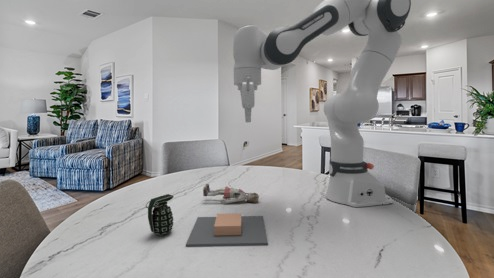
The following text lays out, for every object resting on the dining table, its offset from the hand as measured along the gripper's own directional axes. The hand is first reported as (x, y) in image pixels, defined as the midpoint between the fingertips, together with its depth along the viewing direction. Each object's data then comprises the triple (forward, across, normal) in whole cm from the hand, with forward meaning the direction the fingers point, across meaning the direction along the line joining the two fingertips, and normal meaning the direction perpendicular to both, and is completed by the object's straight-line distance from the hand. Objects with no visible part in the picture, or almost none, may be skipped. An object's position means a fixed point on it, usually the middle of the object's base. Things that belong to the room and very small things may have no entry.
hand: (248, 122), depth 82 cm
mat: (+29, -16, +6) cm, 34 cm away
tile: (+27, -12, +6) cm, 30 cm away
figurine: (+29, +7, +6) cm, 31 cm away
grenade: (+29, -17, +24) cm, 42 cm away
